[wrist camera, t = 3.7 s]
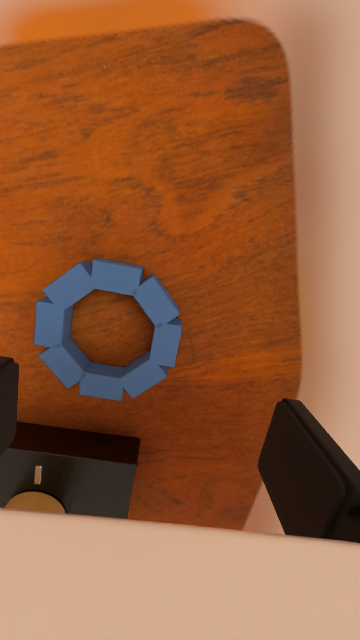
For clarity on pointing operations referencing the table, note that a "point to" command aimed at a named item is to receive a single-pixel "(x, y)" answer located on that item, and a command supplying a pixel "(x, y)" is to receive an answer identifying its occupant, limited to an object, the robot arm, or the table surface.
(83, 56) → the table surface
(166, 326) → the segmented ring
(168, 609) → the robot arm
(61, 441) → the black dial base plate
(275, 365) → the table surface
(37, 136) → the table surface
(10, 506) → the rotary dial knob
